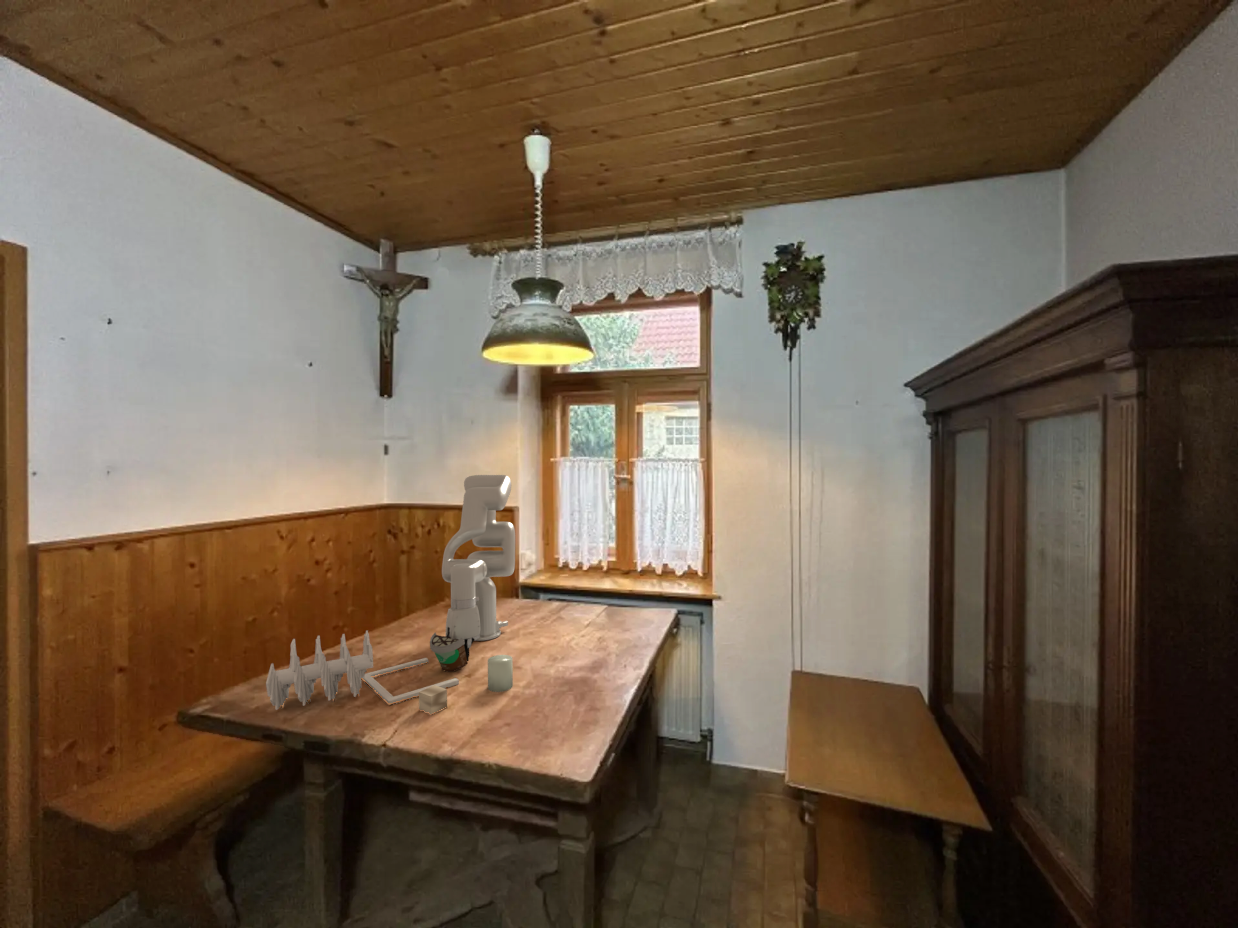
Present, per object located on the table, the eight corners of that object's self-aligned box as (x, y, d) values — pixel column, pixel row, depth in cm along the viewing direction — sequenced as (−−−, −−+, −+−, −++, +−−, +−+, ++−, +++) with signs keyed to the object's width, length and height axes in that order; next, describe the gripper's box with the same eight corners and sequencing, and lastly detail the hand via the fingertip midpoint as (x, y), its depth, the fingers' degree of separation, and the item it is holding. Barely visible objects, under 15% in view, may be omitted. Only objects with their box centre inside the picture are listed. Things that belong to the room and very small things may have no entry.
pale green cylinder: (504, 679, 159) (504, 652, 159) (517, 686, 154) (516, 659, 154) (483, 686, 154) (483, 659, 154) (495, 694, 149) (495, 665, 149)
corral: (425, 661, 174) (425, 657, 174) (458, 683, 156) (458, 679, 156) (360, 678, 160) (360, 674, 160) (388, 705, 142) (388, 701, 142)
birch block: (434, 703, 144) (434, 684, 144) (447, 707, 141) (446, 689, 141) (419, 710, 140) (418, 691, 140) (431, 715, 137) (431, 696, 137)
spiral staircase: (276, 716, 145) (376, 694, 155) (261, 714, 131) (372, 690, 141) (277, 647, 152) (372, 631, 162) (262, 638, 137) (369, 621, 147)
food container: (428, 670, 167) (419, 644, 164) (442, 657, 172) (434, 631, 169) (458, 677, 161) (449, 650, 158) (471, 664, 167) (463, 637, 163)
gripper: (478, 596, 177) (479, 651, 177) (435, 605, 167) (436, 663, 167) (490, 600, 172) (490, 657, 172) (446, 610, 161) (447, 670, 162)
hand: (463, 660), depth 169 cm, fingers closed
